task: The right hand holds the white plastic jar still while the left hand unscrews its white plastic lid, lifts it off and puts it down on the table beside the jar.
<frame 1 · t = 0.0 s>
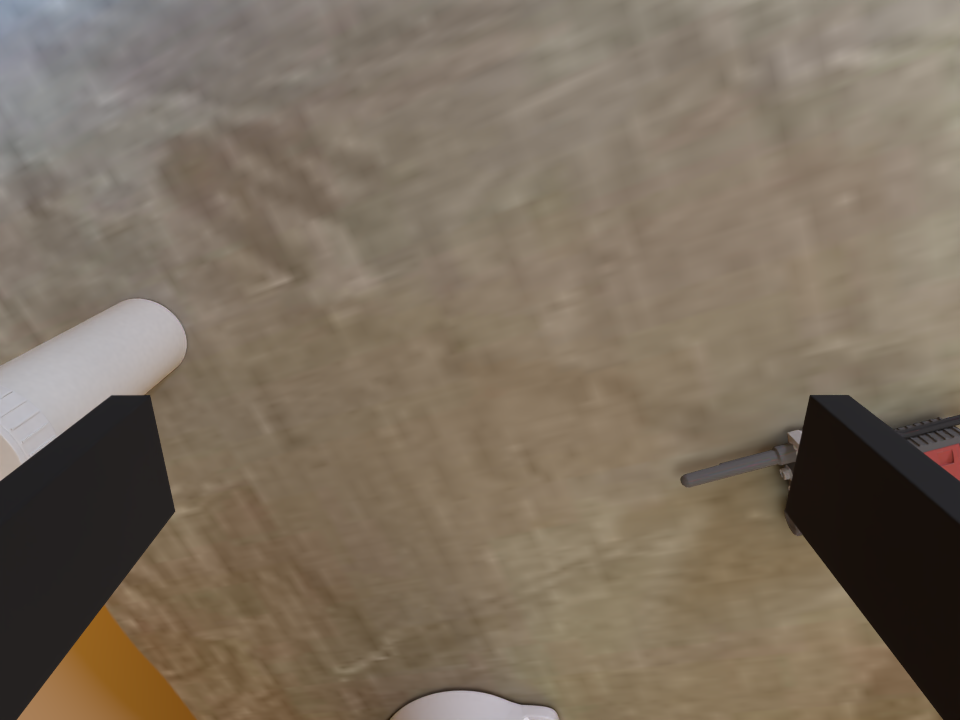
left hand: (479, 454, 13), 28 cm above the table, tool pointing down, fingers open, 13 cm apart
jar: (145, 337, 41), on the table
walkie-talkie: (819, 471, 45), on the table
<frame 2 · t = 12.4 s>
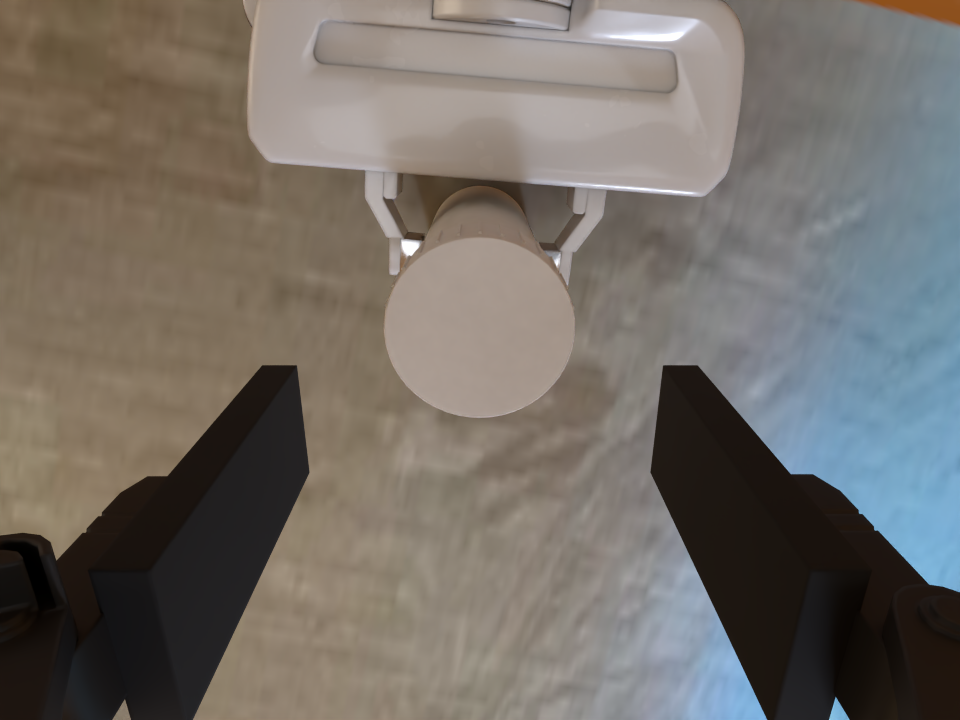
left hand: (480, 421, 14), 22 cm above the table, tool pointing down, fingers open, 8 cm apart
right hand: (479, 279, 29), fingers closed on jar, 5 cm apart
jar: (480, 235, 35), on the table, touching right hand
lid: (479, 328, 20), point 16 cm above the table, screwed on, not yet turned
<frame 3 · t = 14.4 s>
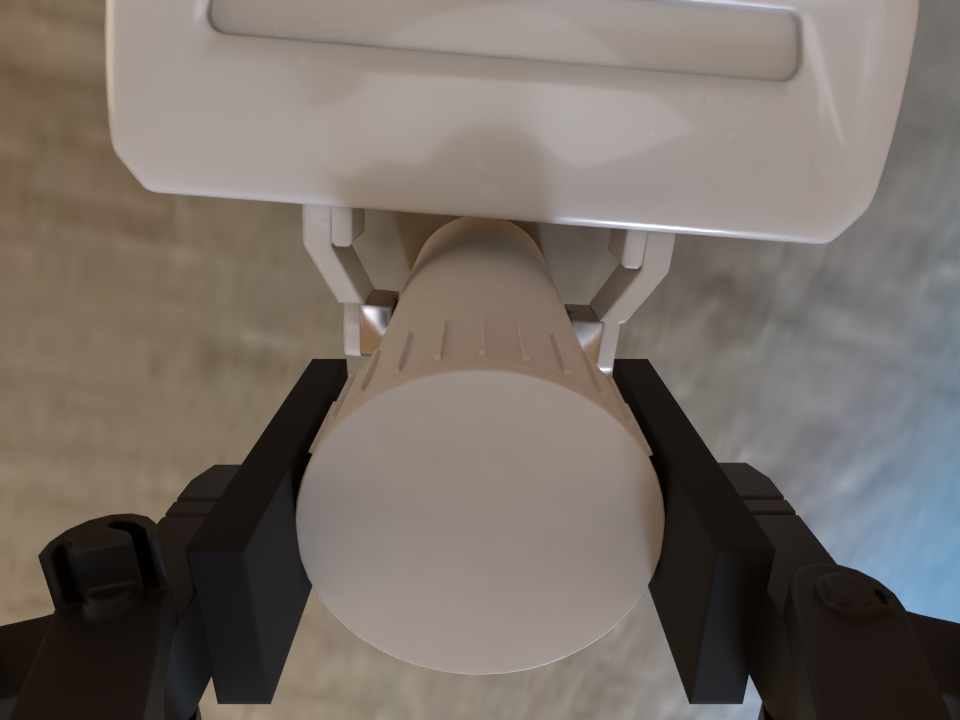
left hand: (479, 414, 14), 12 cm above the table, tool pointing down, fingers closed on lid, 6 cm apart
right hand: (479, 358, 20), fingers closed on jar, 5 cm apart
jar: (480, 282, 25), on the table, touching right hand
lid: (480, 525, 10), point 16 cm above the table, screwed on, not yet turned, touching left hand
when the left hand's fingers open (12 cm above the table, at t = 15.9 s): lid stays where it is, point 16 cm above the table.
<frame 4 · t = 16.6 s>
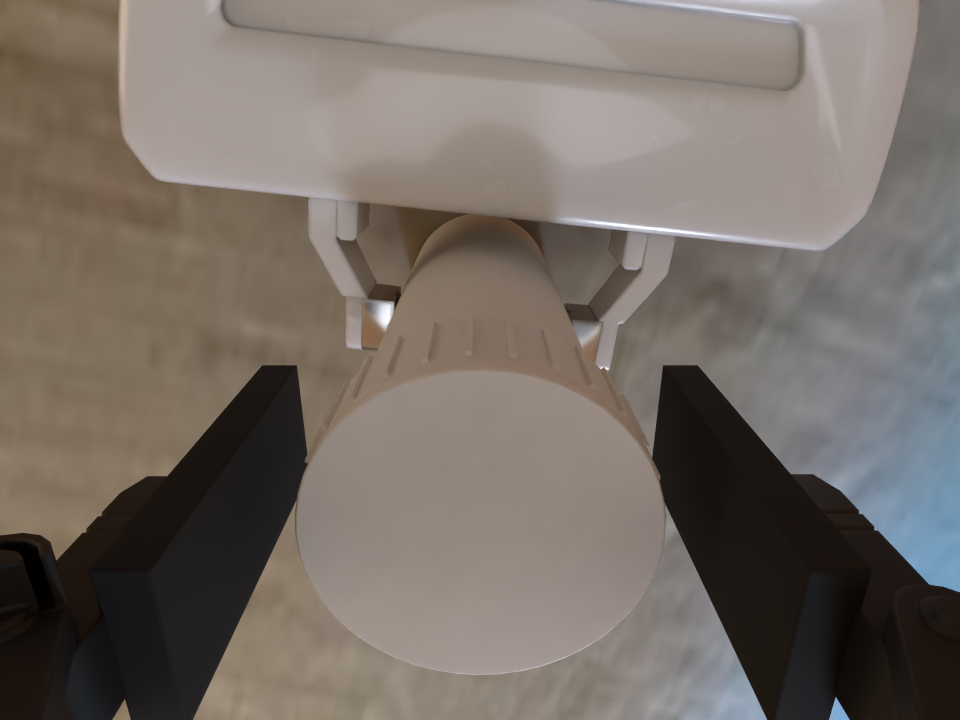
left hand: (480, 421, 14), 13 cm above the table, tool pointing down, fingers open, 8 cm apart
right hand: (478, 355, 20), fingers closed on jar, 5 cm apart
jar: (480, 279, 26), on the table, touching right hand
lid: (480, 525, 10), point 16 cm above the table, turned 82° so far, risen 0.3 cm, still on its thread
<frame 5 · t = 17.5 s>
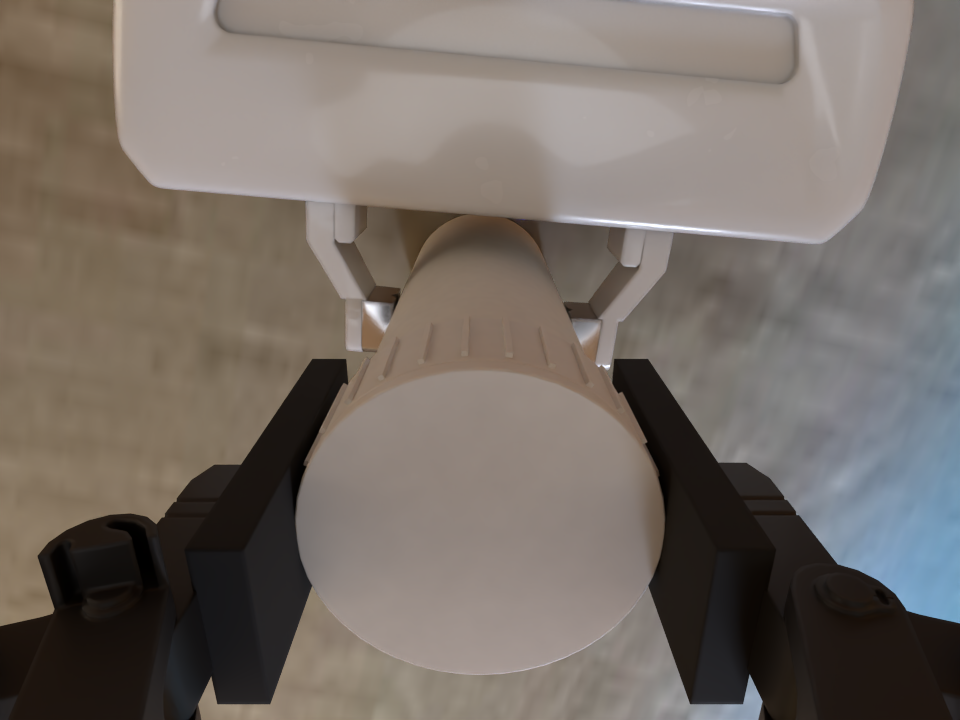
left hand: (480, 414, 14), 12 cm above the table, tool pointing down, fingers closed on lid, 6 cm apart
right hand: (479, 355, 20), fingers closed on jar, 5 cm apart
jar: (480, 279, 26), on the table, touching right hand
lid: (480, 525, 10), point 16 cm above the table, turned 82° so far, risen 0.3 cm, still on its thread, touching left hand
when the left hand's fingers open (0 cm above the table, at t = 25.1 s): lid stays where it is, point 2 cm above the table.
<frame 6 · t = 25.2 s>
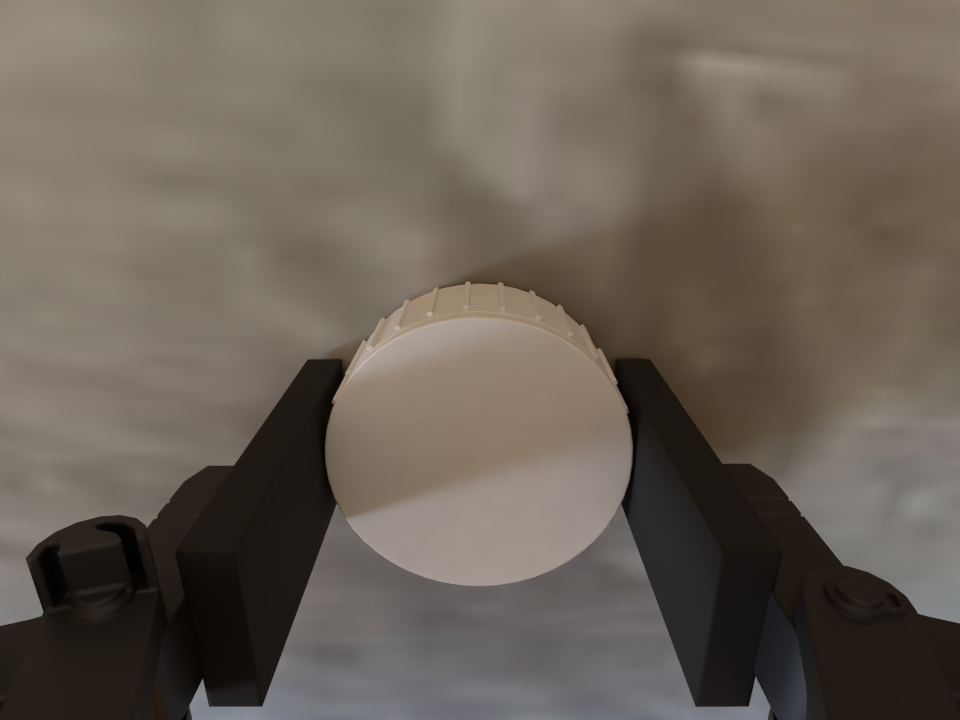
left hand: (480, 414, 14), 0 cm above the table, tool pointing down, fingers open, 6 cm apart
lid: (478, 455, 13), point 2 cm above the table, off its thread
when the right hand's fingers open (6 cm above the table, at t = 25.9 s): jar stays where it is, on the table.
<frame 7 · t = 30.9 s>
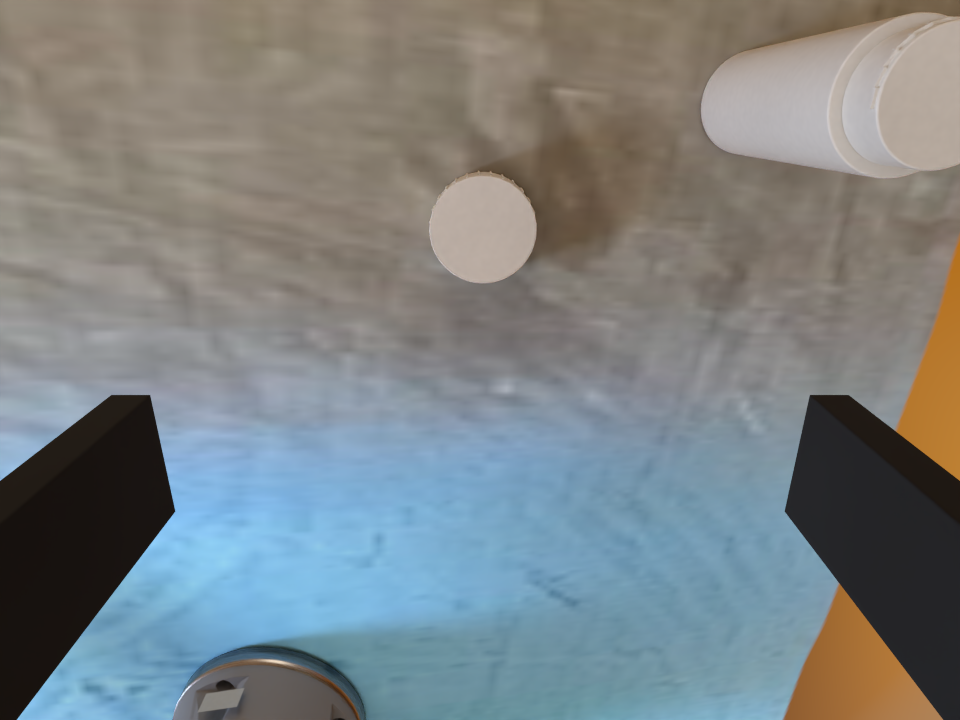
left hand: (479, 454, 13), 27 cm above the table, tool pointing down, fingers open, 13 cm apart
jar: (749, 103, 35), on the table
lid: (483, 230, 35), point 2 cm above the table, off its thread
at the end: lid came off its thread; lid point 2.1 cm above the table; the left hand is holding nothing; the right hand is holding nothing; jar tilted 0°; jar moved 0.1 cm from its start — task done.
